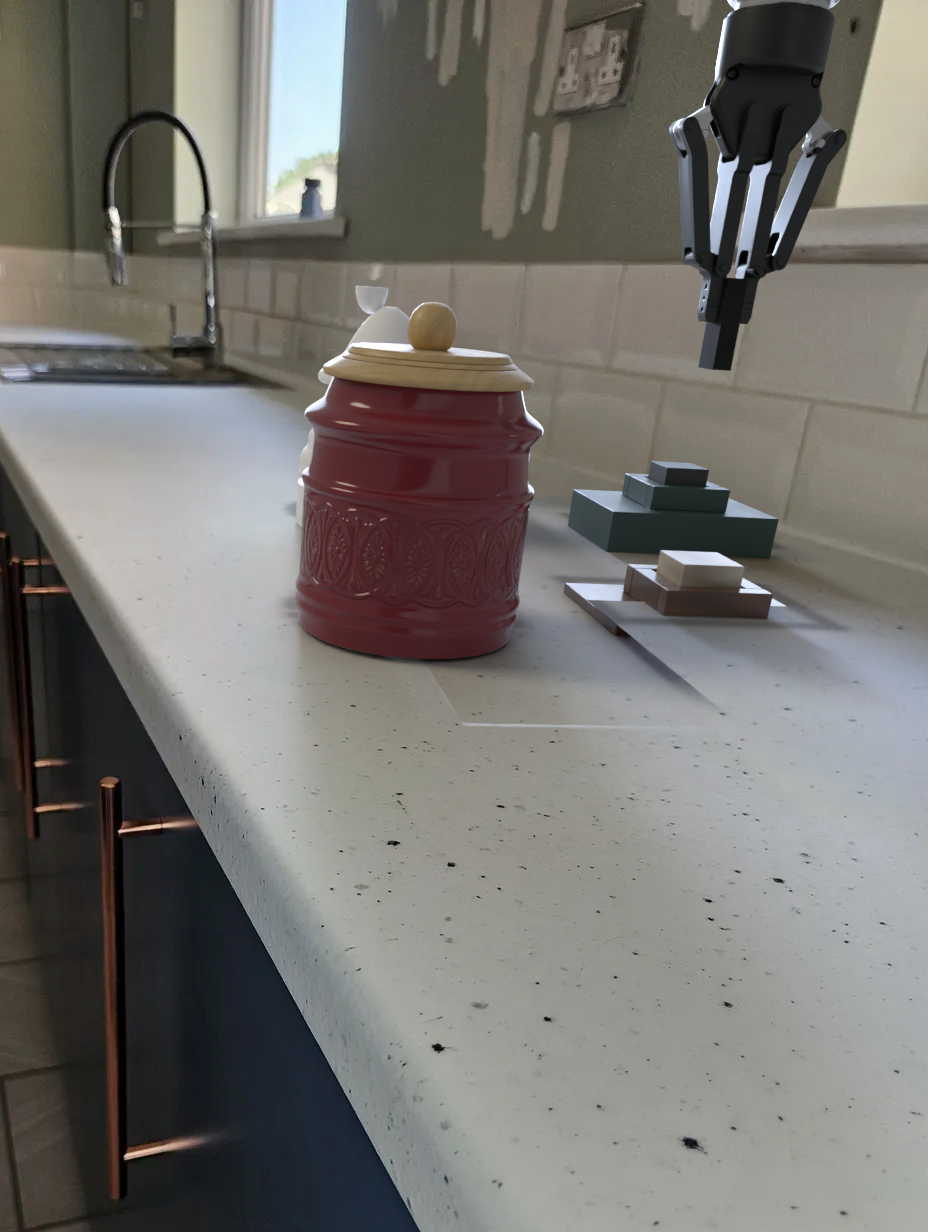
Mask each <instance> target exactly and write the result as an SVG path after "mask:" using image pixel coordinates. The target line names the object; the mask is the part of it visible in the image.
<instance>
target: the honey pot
mask: <svg viewBox="0 0 928 1232" xmlns="http://www.w3.org/2000/svg"><path fill="white" fill-rule="evenodd" d="M389 290H390V287H380V286H366V285H355V297H356V302H357V304H358V306H359V308H360V309H361V310H362V311H363V312H364V313H366V314H369V316H368V317H367V318H366V319H365V320H364V322H362V324H361V325H360V326H359V327H358V329H357V330H356V332H355V334H354V335H353V336H352V338H351V340H350V341H349V343H348V345H347V346H346V348H345V350H344V352H346V351H347V350H348V348H349V347H350V346H351V345H352V344H355V343H390V344H410V342H409V339H408V334H407V328H408V322H409V319H410V317H409V316H408V315H407V314H406V313H405V312H404V311H402V310H401V308H400V307H397V306H387V305H385V304H386V301H387V299H388V295H389V292H390V291H389ZM332 377H333V376H330V375H327V374H325V373H324V371H323V368H321V369H320V370H319V371H318V373H317V378H318V380H319V382H321V383H323V384H324V385H328V386H327V389H326V392H327V390H328V388H329V385H330V383H331V380H332ZM326 392H325V393H326ZM307 436H308V437H307V439H308V442H307V444H306V446H305V447H303V449H302V451H301V452H300V455H299V459H298V465H299V470H298V476H300V477H299V478H298V481H297V487H296V489H297V491H296V508H295V509H296V511H295V523H296V525H298V526H299V527H300V528H302V515H303V497H304V483H303V481H302V473H303V471H304V470H305V469H306V468H307V467H309V465H310V461H311V455H312V447H313V438H314V431H313V428H312V427H311V429H310V430H309V433H308V435H307Z"/></svg>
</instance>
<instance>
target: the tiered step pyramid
mask: <svg viewBox="0 0 928 1232" xmlns="http://www.w3.org/2000/svg"><path fill="white" fill-rule="evenodd" d="M648 475H649V473H646V474H645V473H627V472H626V473H625V474H624V480H623V485H622V490H621V491H620V490H599V489H582V488H581V489H578V488H574V489H573V490H572V494H571V495H572V497H571V503H570V509H569V516H568V522H567V527H568V528H570V529H571V530H573V531H575V532H576V533H578V534H579V535H581V536H582V537H583V538H585V539H587V540H588V541H590V542H591V543H593V544H594V545H596V546H597V547H599V548H600V549H602V550H603V551H605V552H607V553H629V554H650V555H651V554H654V555H660V551H661V550H669V551H694V552H717V553H719V554H721V555H723V556H725V557H727V558H729V557H730V558H751V559H752V558H753V559H754V558H756V559H770V558H771V554H772V551H773V546H774V541H775V538H776V533H777V530H778V525H779V520H780V519H779V518H777V517H775V516H773V515H771V514H768V513H766V512H763V511H761V510H759V509H756V508H753V507H751V506H749V505H746V504H744V503H742V502H739V501H736V500H734V499H732V498H730V495H731V489H729V488H726V487H723V486H720V485H718V484H715V483H712V482H711V481H708V480H707V484H706V487H698V486H678V485H661V484H659V483H657V482H655V481H653V480H650V479H648Z"/></svg>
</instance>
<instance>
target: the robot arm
mask: <svg viewBox="0 0 928 1232" xmlns="http://www.w3.org/2000/svg"><path fill="white" fill-rule="evenodd" d="M840 1H841V0H727V3H728V4H729V6H730V7H731V8H732V9H733V10H732V11H730V12H729V13H728V14H727V16H726V17H725V18H724V19H723V22H722V29H721V33H720V40H719V46H718V52H717V57H716V63H715V75H714V80H713V84H712V86H711V88H710V89H709V91H708V93H707V95H706V96H705V98H704V102H703V106H702V107H701V108H699V109H697V110H696V111H695V112H693V113H691V114H690V115H689V116H687V117H683V118H680V119H678V120H675V121H673V122H672V123H671V124H670V126H669V129H668V131H669V136H670V139H671V141H672V145H673V147H674V150H675V152H676V154H677V157H678V159H677V160H678V178H679V179H678V183H679V204H680V205H679V208H680V236H681V259H682V262H683V264H684V265H686V266H689V267H692V268H694V269H696V270H697V271H698V273H699V274H700V275H701V276H702V284H701V292H700V295H699V303H698V309H697V320H698V322H705V326H704V331H703V332H704V333H703V339H702V343H701V344H702V345H701V349H700V355H699V360H698V365H697V366H698V367H697V368H700V369H706V370H710V371H711V370H712V371H726V372H727V371H730V372H731V370H732V365H733V361H734V355H735V350H736V345H737V340H738V335H739V329H740V325H748V324H749V322H750V320H751V318H752V315H753V309H754V305H755V299H756V294H757V289H758V284H759V281H760V280H761V279H763V278H764V277H766V276H767V274H770V273H774V272H776V271H782V270H784V269H785V268H786V267H787V265H788V263H789V261H790V258H791V256H792V253H793V250H794V248H795V246H796V243H797V241H798V239H799V236H800V234H801V231H802V230H803V227H804V224H805V223H806V219H807V217H808V214H809V212H810V210H811V207H812V205H813V202H814V200H815V197H816V195H817V192H818V191H819V188H820V185H821V183H822V180H823V178H824V176H825V174H826V171H827V169H828V166H829V164H831V162H832V161H833V159H834V158H835V157H836V156H837V154H838V153H839V152H840V150H842V148H843V147H844V145H845V144H846V142H847V140H848V133H847V132H846V130H844V129H842V128H838V129H834V128H833V127H832V126H831V124H829V122H828V121H827V120H826V118H824V117H823V115H822V112H823V105H824V104H823V99H822V95H821V84H822V81H823V78H824V75H825V73H826V69H827V66H828V61H829V57H830V51H831V45H832V40H833V36H834V30H835V26H836V21H837V18H836V17H835V16H834V12H832V11H831V10H830V9H832V8H834V7H835V6H836V5H837V4H839V2H840ZM710 130H711V133H712V135H713V137H714V140H715V142H716V145H717V147H718V150H719V152H720V153H719V158H718V164H717V170H716V171H717V176H718V179H717V185H716V191H715V197H714V200H713V201H714V202H713V208H712V213H711V215H710V182H709V181H710V177H709V152H708V146H707V141H708V140H709V138H710V134H711V133H710ZM804 137H805V140H804V142H803V144H802V145H801V150H802V151H803V154H802V155H801V156H800V158H799V160H798V162H797V163H796V166H795V168H794V171H793V173H792V176H791V178H790V180H789V183H788V185H787V188H786V191H785V192H784V195H783V198H782V200H781V202H780V205H779V207H778V210H777V213H776V207H777V203H778V198H779V193H780V188H781V183H782V179H783V177H784V175H785V174H786V172H787V168H788V163H789V159H790V154H791V153H792V152H793V150H794V149H795V148H796V147H797V146H798V144H800V142H801V141H802V140H803V138H804ZM749 178H750V182H749ZM748 182H749V188H748V193H747V199H746V205H745V210H744V215H743V220H742V226H741V232H740V237H739V242H738V248H737V253H736V259H735V264H734V269H733V270H734V276H735V277H728V275H729V273H730V272H731V270H732V265H733V261H734V257H735V251H736V245H737V240H738V235H739V230H740V224H741V219H742V218H741V217H742V213H743V208H744V203H745V198H746V192H747V186H748ZM775 214H776V215H775ZM710 217H711V218H710Z"/></svg>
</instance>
